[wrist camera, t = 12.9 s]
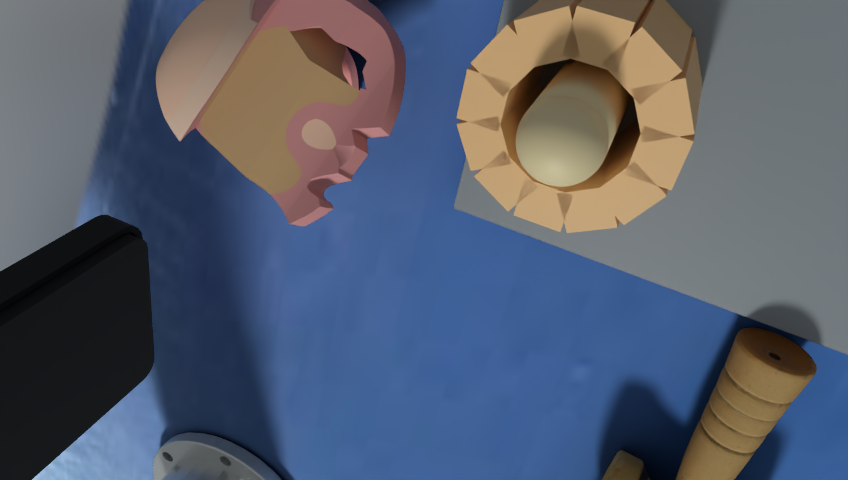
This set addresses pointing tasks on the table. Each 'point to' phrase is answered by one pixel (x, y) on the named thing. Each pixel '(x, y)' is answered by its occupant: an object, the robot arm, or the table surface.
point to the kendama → (736, 408)
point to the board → (717, 165)
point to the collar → (631, 149)
